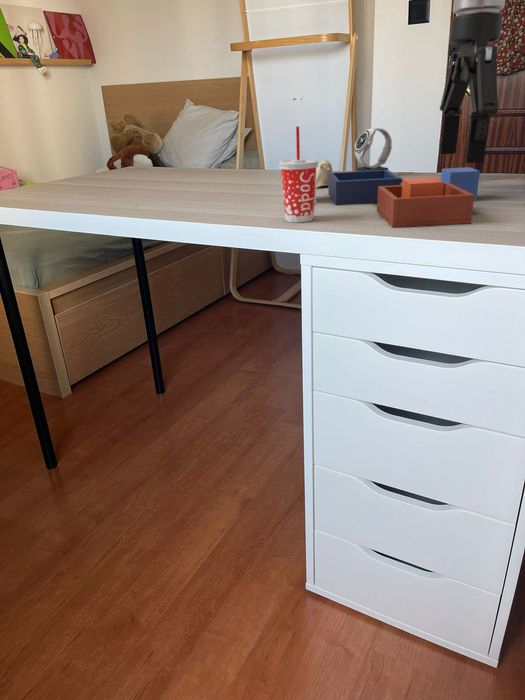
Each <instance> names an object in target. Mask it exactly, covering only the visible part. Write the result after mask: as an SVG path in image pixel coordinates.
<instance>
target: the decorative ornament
mask: <svg viewBox="0 0 525 700" xmlns="http://www.w3.org/2000/svg"><path fill="white" fill-rule="evenodd" d="M317 166H318V167H316V189H317V188H320V187H326V186H327V187H328V177H329V173H333V166H332V164H331V162H330V161H329V160H326V159H323V160H320V162H319V163H318V164H317Z"/></svg>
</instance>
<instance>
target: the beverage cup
mask: <svg viewBox="0 0 525 700" xmlns="http://www.w3.org/2000/svg"><path fill="white" fill-rule="evenodd" d="M295 137H296V139H295V140H296V142H295V143H296V144H295V145H296V147H295V148H296V158H295V159H287V160H281V161H279V162H278V166H279V167H278V168H279V169H280V172H281V182H282V183H281V184H282V195H283V205H284V218H285V221H286V222H288V223H306V222H307V223H308V222H311V221H313V220H314V219H315V218H314V217H315V216H314V214H315V203H314V198H315V179H316V170H317V167H318V165H319V161H318V159H314V158H301V152H300V151H301V149H300V147H301V146H300V126H295Z"/></svg>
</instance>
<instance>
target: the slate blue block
mask: <svg viewBox="0 0 525 700" xmlns="http://www.w3.org/2000/svg"><path fill="white" fill-rule="evenodd" d="M440 173H441V175H440V180H441V181H443V182H444V183H450V184H453V185H455V186H457V187H459V188H461V189H463V190H465V191H467V192H469V193H471V194H473V195H474V202H476V201H477V200H478V199H477V198H478V192H479V191H478V190H479V184H480V183H479V180H480V173H481V170H478V169H475V168H473V167H470V166H467V167H466V166H465V167H448V168H441V172H440Z"/></svg>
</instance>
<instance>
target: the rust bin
mask: <svg viewBox="0 0 525 700" xmlns="http://www.w3.org/2000/svg"><path fill="white" fill-rule="evenodd" d="M401 197H402V184H401V185H396V186H379V187H378V201H377V203H376V204H377V205H376V212H377V213H378V214H379V215H380V217H382V218H383V219H384V220H385V221H386V222H387V224H388V225H389V226H390V227H391V228H406V227H425V226H443V225H444V226H445V225H465V224H471V223H472V218H473V210H474V202H475V201H474V195H473V194H471V193H469V192H467V191H465V190H463V189H461V188H459V187H457V186H455V185H453V184H450V183H444V189H443V196H425V197H407V198H401Z"/></svg>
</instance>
